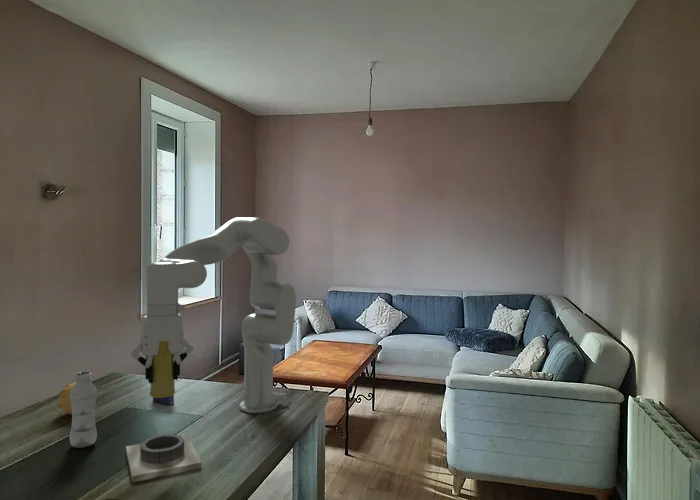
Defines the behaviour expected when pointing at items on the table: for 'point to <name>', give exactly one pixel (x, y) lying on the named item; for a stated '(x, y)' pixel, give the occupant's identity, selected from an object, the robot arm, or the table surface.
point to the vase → (162, 372)
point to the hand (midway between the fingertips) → (162, 379)
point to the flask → (164, 400)
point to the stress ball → (66, 399)
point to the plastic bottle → (83, 411)
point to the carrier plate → (161, 457)
